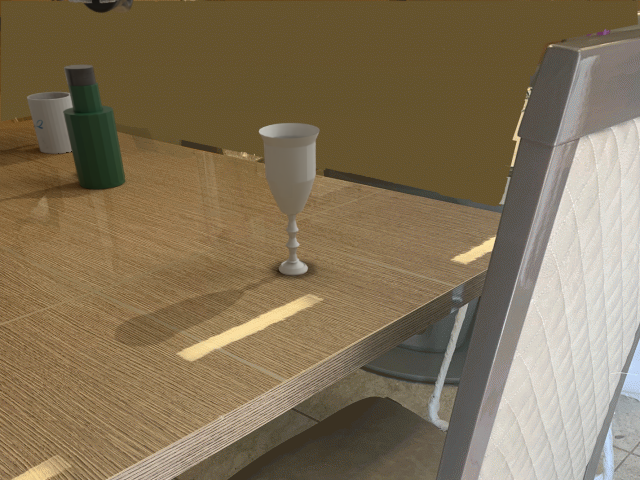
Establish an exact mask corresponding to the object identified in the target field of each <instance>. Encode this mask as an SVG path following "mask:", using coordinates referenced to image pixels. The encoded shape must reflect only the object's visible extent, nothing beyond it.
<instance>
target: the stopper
mask: <svg viewBox="0 0 640 480" xmlns="http://www.w3.org/2000/svg"><path fill="white" fill-rule="evenodd" d="M63 70H64V74H65V79H66V84H67V86H68V85H70V86H88V85H93V84H96V83H97V80H96V79H97V78H96V74H95V68H94V66H93V65H92V64H71V65H66V66H64V67H63Z"/></svg>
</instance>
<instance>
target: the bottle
mask: <svg viewBox="0 0 640 480" xmlns="http://www.w3.org/2000/svg"><path fill="white" fill-rule="evenodd" d="M67 86H68V91H69V92H68V93H70V96H71V101H72V106H73V108H69V109H66V110H64V111H63V113H64V118H65V122H66V127H67V131H68V136H69V140H70V145H71V149H72V152H71V153H72V158H73V162H74V166H75V170H76V171H75V172H76V176H77V180H78V182H79V183H78V184H79V186H80V187H81V188H83V189H88V190H106V189H113V188H116V187H119V186H122V185H123V184H125V182H126V174H125V169H124V168H125V167H124V162H123V158H122V153H121V147H120V141H119V135H118V130H117V124H116V118H115V113H114V108H113V107H112V106H108V105H103V104H102V99H101V93H100V88H99V83H98V82H96V84H93V85H88V86H70V85H68V84H67Z"/></svg>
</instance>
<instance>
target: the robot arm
mask: <svg viewBox="0 0 640 480" xmlns="http://www.w3.org/2000/svg"><path fill="white" fill-rule="evenodd" d="M50 1H52V2H54V1H57V2H64V1H65V0H50ZM68 2H69V3H82V4H84V6H85V7H86V8H87V9H88V10H90V11H92V12H94V13H99V14H100V13H101V14H104V13H105V14H106V13H109V12H110V11H113V12H116V13H120V14H125V13H129V12H130V10H131V9H132V7H133V4H134V0H68Z"/></svg>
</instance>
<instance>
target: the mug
mask: <svg viewBox="0 0 640 480" xmlns="http://www.w3.org/2000/svg"><path fill="white" fill-rule="evenodd" d="M26 100H27V104H28V108H29V111H30V115H31V120H32V123H33V127H34V131H35V135H36V138H37V143H38V147H39V151H40V152H41V153H44V154H50V155H51V154H52V155H53V154H54V155H55V154H56V155H57V154H58V153H59V154H67V153H66V152H69V153H72V152H71V151H72V149H71V145H70V140H69V136H68V131H67V127H66V122H65V118H64V113H63V111H64V110H66V109H69V108H73V106H72V101H71V96H70V92H65V91H46V92H45V91H44V92H39V93H33V94H30V95H28V96H26Z"/></svg>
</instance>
